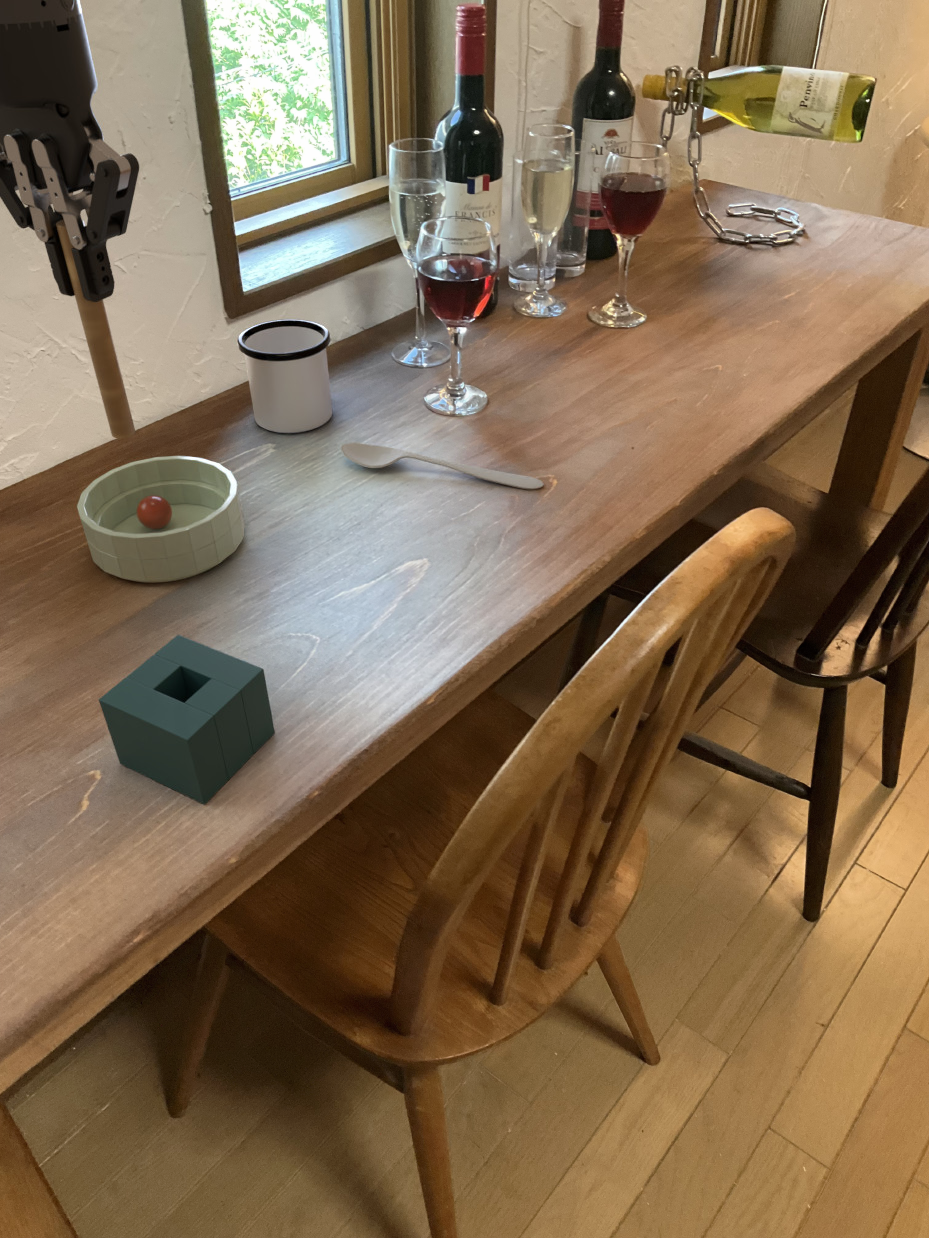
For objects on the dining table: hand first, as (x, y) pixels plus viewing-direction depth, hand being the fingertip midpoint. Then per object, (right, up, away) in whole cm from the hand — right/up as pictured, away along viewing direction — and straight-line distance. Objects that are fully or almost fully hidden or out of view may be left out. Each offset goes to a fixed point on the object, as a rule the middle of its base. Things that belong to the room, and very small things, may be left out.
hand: (88, 294), depth 68 cm
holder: (+9, -32, -3) cm, 33 cm away
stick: (0, -9, +7) cm, 11 cm away
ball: (-1, -14, +17) cm, 22 cm away
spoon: (+24, -9, +26) cm, 37 cm away
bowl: (+1, -16, +17) cm, 23 cm away
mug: (+9, -1, +37) cm, 38 cm away
